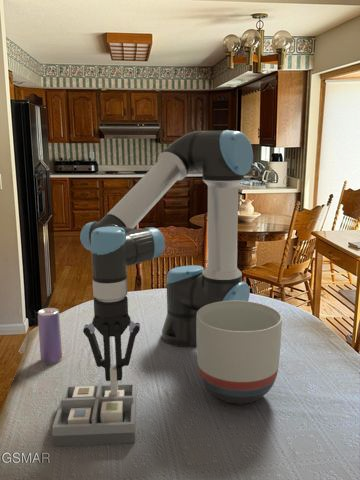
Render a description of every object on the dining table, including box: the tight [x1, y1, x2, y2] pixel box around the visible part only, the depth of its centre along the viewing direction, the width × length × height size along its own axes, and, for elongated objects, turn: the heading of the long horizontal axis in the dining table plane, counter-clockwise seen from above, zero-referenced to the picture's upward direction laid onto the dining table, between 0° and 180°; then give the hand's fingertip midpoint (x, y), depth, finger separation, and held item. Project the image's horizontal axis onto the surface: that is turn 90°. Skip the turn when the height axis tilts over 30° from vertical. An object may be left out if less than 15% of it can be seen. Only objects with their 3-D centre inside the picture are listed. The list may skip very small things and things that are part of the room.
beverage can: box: [37, 307, 63, 365], centre depth 137 cm, size 6×6×15 cm
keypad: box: [51, 379, 137, 447], centre depth 109 cm, size 17×18×6 cm
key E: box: [72, 386, 95, 398], centre depth 111 cm, size 4×4×3 cm
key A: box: [104, 390, 124, 397], centre depth 112 cm, size 4×4×3 cm
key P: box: [101, 401, 123, 423], centre depth 105 cm, size 4×4×3 cm
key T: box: [68, 408, 92, 425], centre depth 105 cm, size 4×4×3 cm
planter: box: [196, 300, 283, 405], centre depth 117 cm, size 20×20×21 cm
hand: (114, 392), depth 112 cm, fingers closed
